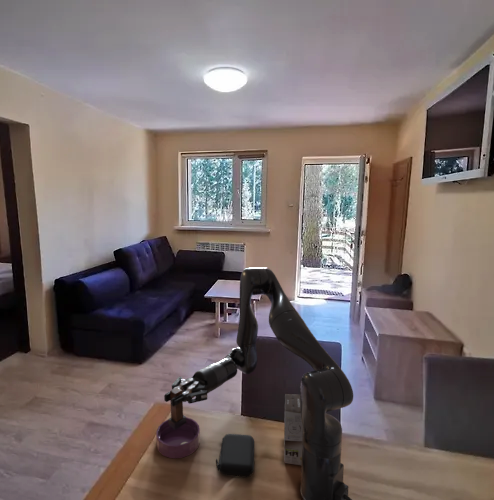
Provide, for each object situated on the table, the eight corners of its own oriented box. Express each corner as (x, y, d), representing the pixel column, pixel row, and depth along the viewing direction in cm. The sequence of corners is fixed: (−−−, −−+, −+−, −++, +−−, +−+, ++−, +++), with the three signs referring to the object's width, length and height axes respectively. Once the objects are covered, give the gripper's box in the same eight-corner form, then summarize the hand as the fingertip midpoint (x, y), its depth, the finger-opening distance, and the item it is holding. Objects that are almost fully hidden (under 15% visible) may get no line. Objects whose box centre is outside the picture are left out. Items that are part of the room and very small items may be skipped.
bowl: (208, 443, 103) (208, 429, 102) (175, 467, 94) (174, 453, 93) (181, 423, 112) (181, 411, 111) (148, 444, 102) (147, 431, 102)
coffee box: (307, 466, 93) (308, 413, 91) (283, 463, 95) (284, 411, 92) (305, 443, 102) (307, 394, 100) (284, 440, 103) (285, 392, 101)
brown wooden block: (179, 418, 104) (178, 385, 103) (186, 422, 102) (185, 389, 101) (168, 425, 101) (166, 391, 100) (175, 430, 99) (173, 395, 98)
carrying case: (220, 439, 104) (213, 478, 90) (219, 430, 104) (213, 468, 89) (254, 441, 103) (253, 481, 89) (254, 432, 103) (253, 471, 88)
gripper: (196, 360, 115) (153, 380, 103) (225, 374, 105) (183, 398, 93) (196, 380, 116) (155, 403, 104) (226, 396, 106) (184, 423, 94)
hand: (168, 400), depth 98 cm, fingers closed on brown wooden block, 2 cm apart
